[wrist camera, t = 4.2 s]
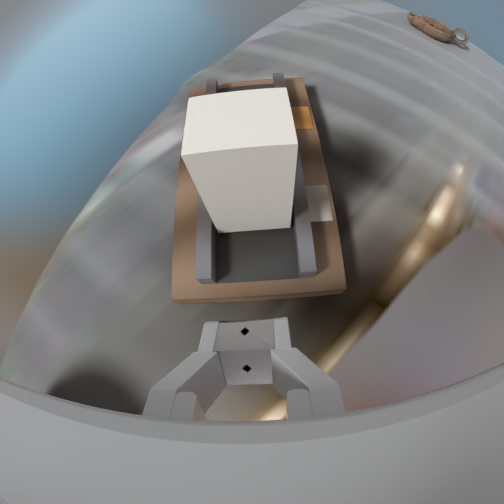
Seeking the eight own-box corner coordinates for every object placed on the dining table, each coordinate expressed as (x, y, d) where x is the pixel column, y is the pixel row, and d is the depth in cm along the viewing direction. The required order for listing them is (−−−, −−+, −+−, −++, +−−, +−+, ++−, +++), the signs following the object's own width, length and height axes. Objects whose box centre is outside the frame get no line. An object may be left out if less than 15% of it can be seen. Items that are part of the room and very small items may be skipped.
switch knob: (290, 227, 20) (297, 143, 11) (218, 233, 20) (181, 155, 11) (284, 179, 21) (286, 87, 12) (218, 184, 21) (188, 97, 13)
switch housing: (340, 293, 20) (352, 283, 17) (180, 304, 21) (163, 296, 18) (301, 91, 27) (302, 67, 24) (194, 101, 28) (186, 78, 25)
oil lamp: (403, 26, 34) (408, 7, 29) (407, 18, 36) (412, 1, 31) (463, 57, 31) (471, 39, 26) (462, 46, 33) (469, 30, 28)
